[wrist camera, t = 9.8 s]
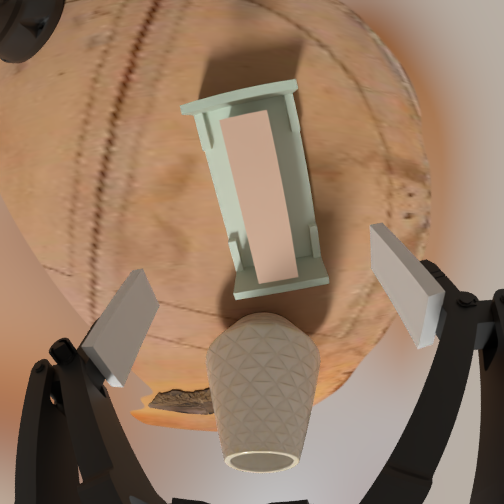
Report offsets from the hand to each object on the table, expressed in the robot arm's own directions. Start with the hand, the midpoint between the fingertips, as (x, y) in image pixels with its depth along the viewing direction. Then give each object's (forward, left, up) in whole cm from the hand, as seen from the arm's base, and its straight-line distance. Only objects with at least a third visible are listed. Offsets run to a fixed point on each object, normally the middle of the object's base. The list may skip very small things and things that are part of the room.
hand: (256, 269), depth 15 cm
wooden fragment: (+44, -26, -22) cm, 56 cm away
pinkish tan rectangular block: (+1, 0, -21) cm, 21 cm away
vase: (+25, -5, -22) cm, 34 cm away
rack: (0, 0, -22) cm, 22 cm away
